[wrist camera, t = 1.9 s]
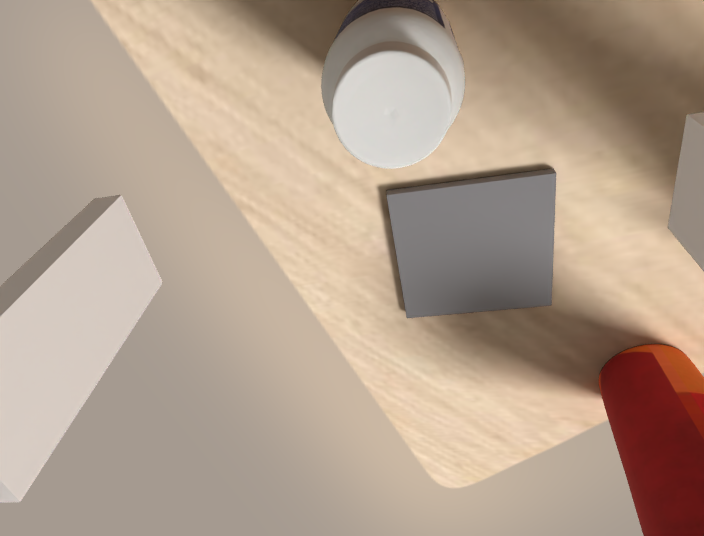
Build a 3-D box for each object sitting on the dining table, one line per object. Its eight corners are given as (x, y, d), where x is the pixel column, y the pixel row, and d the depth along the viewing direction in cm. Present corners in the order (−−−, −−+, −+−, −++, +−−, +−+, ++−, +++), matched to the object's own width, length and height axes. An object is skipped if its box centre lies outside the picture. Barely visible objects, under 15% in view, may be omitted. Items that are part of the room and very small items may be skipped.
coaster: (386, 190, 30) (386, 195, 29) (553, 168, 28) (556, 173, 28) (406, 312, 35) (406, 318, 34) (549, 299, 33) (551, 305, 32)
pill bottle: (316, 37, 25) (275, 102, 17) (405, -46, 23) (406, -16, 15) (385, 123, 27) (377, 215, 19) (473, 54, 25) (505, 127, 17)
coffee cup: (580, 419, 39) (660, 655, 27) (581, 338, 35) (677, 578, 22) (704, 409, 37) (848, 656, 25) (721, 322, 33) (908, 573, 21)
